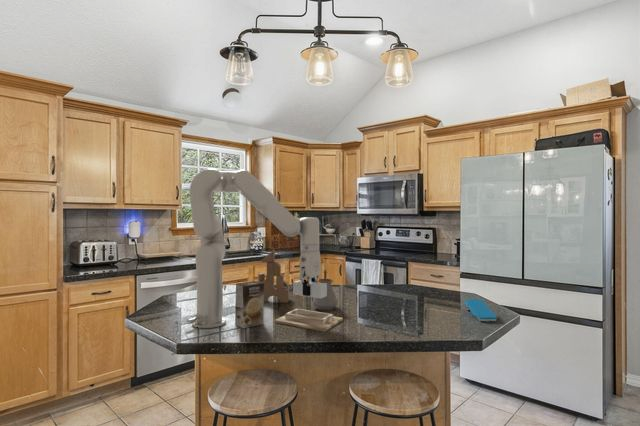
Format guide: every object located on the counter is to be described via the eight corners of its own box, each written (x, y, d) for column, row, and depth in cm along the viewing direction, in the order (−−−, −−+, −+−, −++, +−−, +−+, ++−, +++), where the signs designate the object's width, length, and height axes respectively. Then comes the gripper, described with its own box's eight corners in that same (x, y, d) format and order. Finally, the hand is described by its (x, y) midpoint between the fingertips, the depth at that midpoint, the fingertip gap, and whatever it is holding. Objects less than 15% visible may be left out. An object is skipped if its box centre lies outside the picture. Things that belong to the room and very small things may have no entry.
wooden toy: (289, 299, 186) (290, 248, 186) (287, 302, 179) (288, 250, 179) (258, 298, 187) (259, 248, 186) (255, 302, 180) (256, 249, 180)
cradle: (324, 331, 138) (324, 323, 138) (274, 322, 148) (274, 314, 148) (342, 320, 152) (342, 313, 152) (296, 312, 162) (296, 305, 162)
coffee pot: (338, 312, 164) (338, 277, 164) (311, 311, 164) (312, 277, 164) (336, 300, 186) (337, 269, 185) (313, 299, 186) (313, 269, 186)
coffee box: (243, 329, 140) (243, 286, 140) (234, 325, 145) (234, 283, 145) (264, 324, 146) (264, 282, 146) (254, 320, 151) (255, 280, 151)
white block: (320, 298, 145) (320, 285, 145) (293, 294, 152) (293, 281, 151) (326, 296, 149) (326, 283, 149) (299, 292, 155) (299, 279, 155)
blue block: (494, 332, 153) (475, 308, 171) (497, 317, 151) (477, 295, 169) (478, 332, 153) (460, 308, 170) (480, 317, 151) (462, 295, 168)
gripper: (307, 251, 141) (307, 299, 141) (328, 246, 155) (328, 290, 156) (290, 250, 144) (290, 297, 144) (312, 245, 159) (312, 289, 159)
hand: (310, 293), depth 150 cm, fingers closed on white block, 4 cm apart
